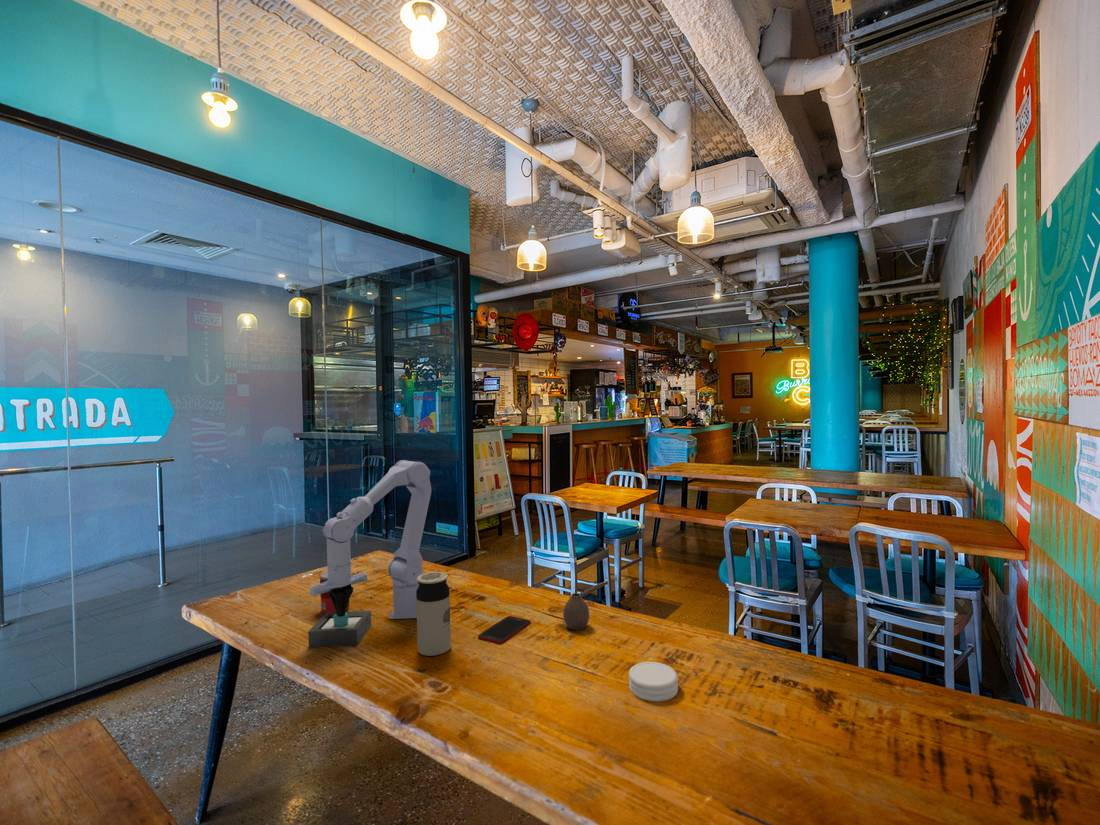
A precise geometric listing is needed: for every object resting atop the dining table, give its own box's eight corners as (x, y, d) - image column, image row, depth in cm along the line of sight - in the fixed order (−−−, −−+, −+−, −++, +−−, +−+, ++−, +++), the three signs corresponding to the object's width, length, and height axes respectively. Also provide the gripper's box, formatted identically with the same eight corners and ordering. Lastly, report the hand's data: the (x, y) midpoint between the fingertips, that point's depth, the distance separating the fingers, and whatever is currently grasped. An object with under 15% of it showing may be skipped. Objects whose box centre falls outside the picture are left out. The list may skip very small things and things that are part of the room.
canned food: (343, 615, 150) (342, 577, 150) (316, 615, 151) (314, 577, 150) (353, 604, 158) (352, 568, 158) (327, 605, 158) (326, 569, 158)
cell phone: (476, 640, 133) (476, 636, 133) (508, 618, 146) (508, 615, 146) (501, 646, 129) (501, 642, 129) (532, 624, 142) (532, 620, 142)
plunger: (363, 620, 141) (363, 608, 141) (352, 635, 133) (352, 621, 132) (330, 622, 141) (330, 609, 141) (317, 636, 132) (317, 622, 132)
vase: (589, 622, 142) (589, 590, 142) (589, 633, 135) (588, 599, 135) (564, 621, 142) (563, 589, 142) (562, 632, 136) (561, 599, 135)
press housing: (371, 625, 143) (370, 610, 143) (357, 645, 131) (356, 629, 131) (326, 627, 142) (326, 612, 142) (308, 647, 130) (308, 631, 130)
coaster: (641, 706, 102) (641, 689, 102) (621, 681, 112) (621, 664, 112) (687, 698, 105) (686, 680, 105) (663, 673, 114) (663, 657, 114)
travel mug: (410, 652, 126) (408, 579, 126) (432, 639, 133) (430, 569, 133) (436, 659, 123) (434, 583, 122) (457, 645, 130) (455, 573, 129)
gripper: (357, 554, 144) (359, 603, 145) (304, 567, 134) (306, 620, 134) (370, 559, 140) (372, 609, 140) (316, 573, 129) (318, 627, 129)
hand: (340, 615), depth 137 cm, fingers closed, pressing on plunger
